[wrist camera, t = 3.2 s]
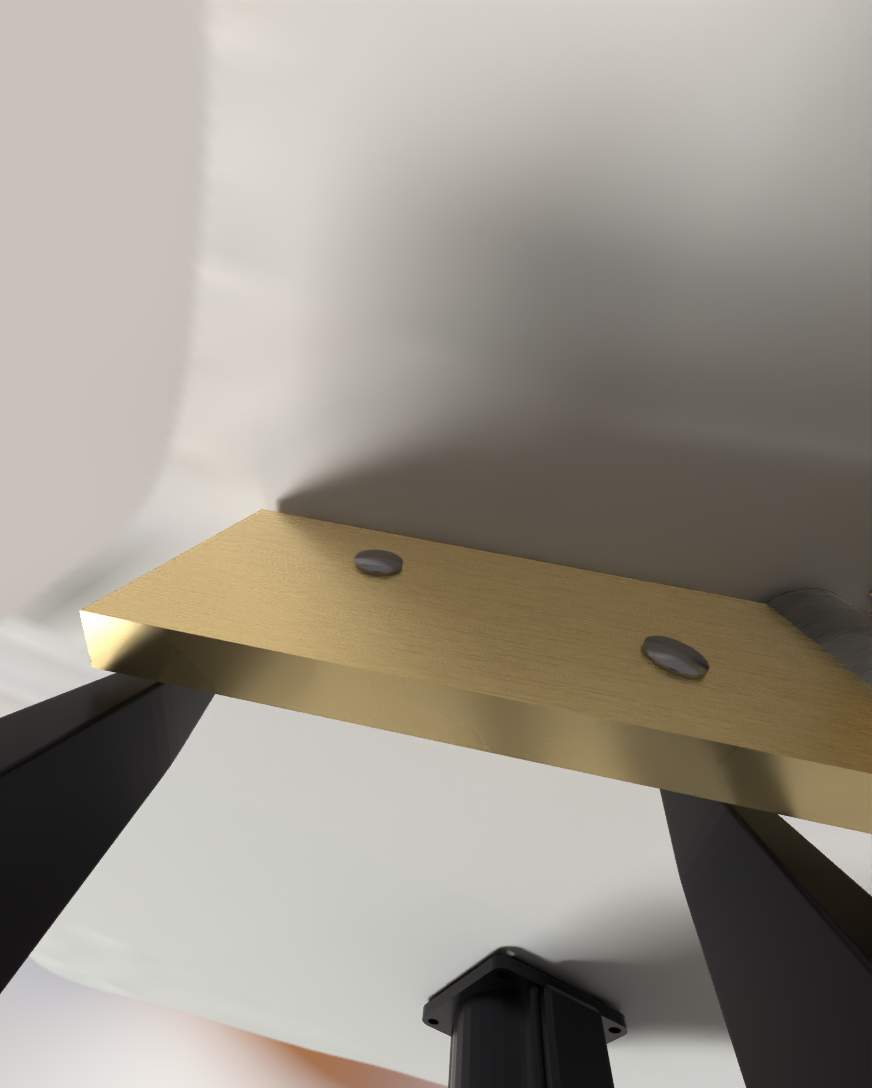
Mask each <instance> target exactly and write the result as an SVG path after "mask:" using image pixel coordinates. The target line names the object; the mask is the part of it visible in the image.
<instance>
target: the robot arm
mask: <svg viewBox="0 0 872 1088" xmlns="http://www.w3.org/2000/svg"><path fill="white" fill-rule="evenodd" d="M214 695H215V694H214V693H209V692H205V691H200V690H195V689H191V688H186V687H181V686H177V685H172V684H167V683H163V682H158V681H153V680H149V679H144V678H139V677H134V676H130V675H125V674H120V673H115V674H112V675H109V676H107V677H104V678H102V679H99V680H96V681H94V682H91V683H89V684H86V685H84V686H81V687H78V688H76V689H73V690H71V691H68V692H66V693H63V694H60V695H58V696H55V697H53V698H50V699H47V700H45V701H42V702H40V703H37V704H35V705H32V706H29V707H27V708H24V709H22V710H19V711H16V712H14V713H11V714H9V715H6V716H4V717H1V718H0V994H1V992H2V991H3V990H4V988H5V987H6V985H7V984H8V983H9V981H10V980H11V979H12V978H13V976H14V975H15V974H16V972H17V971H18V969H19V968H20V967H21V966H22V964H23V963H24V962H25V960H26V959H27V958H28V956H29V955H30V954H31V952H32V951H33V949H34V948H35V947H36V945H37V944H38V943H39V941H40V940H41V939H42V937H43V936H44V935H45V933H46V932H47V931H48V929H49V928H50V927H51V925H52V924H53V923H54V921H55V920H56V919H57V917H58V916H59V915H60V913H61V912H62V911H63V909H64V908H65V907H66V905H67V904H68V903H69V901H70V900H71V899H72V897H73V896H74V895H75V893H76V892H77V891H78V889H79V888H80V887H81V885H82V884H83V883H84V881H85V880H86V879H87V877H88V876H89V875H90V873H91V872H92V871H93V869H94V868H95V867H96V865H97V864H98V863H99V861H100V860H101V859H102V857H103V856H104V855H105V853H106V852H107V851H108V849H109V848H110V847H111V845H112V844H113V843H114V841H115V840H116V839H117V837H118V836H119V835H120V833H121V832H122V831H123V829H124V828H125V826H126V825H127V824H128V822H129V821H130V820H131V818H132V817H133V816H134V814H135V813H136V812H137V810H138V809H139V808H140V806H141V805H142V804H143V802H144V801H145V800H146V798H147V797H148V796H149V794H150V793H151V792H152V790H153V789H154V788H155V786H156V785H157V784H158V782H159V781H160V780H161V778H162V777H163V776H164V774H165V773H166V771H167V770H168V769H169V767H170V766H171V764H172V763H173V761H174V760H175V758H176V757H177V755H178V754H179V752H180V750H181V749H182V747H183V746H184V744H185V742H186V741H187V739H188V737H189V736H190V734H191V733H192V731H193V729H194V728H195V726H196V724H197V723H198V721H199V719H200V718H201V716H202V715H203V713H204V711H205V710H206V708H207V706H208V705H209V703H210V702H211V700H212V698H213V697H214ZM660 792H661V797H662V801H663V806H664V810H665V815H666V819H667V824H668V828H669V833H670V837H671V842H672V846H673V851H674V855H675V860H676V864H677V868H678V872H679V876H680V880H681V883H682V887H683V890H684V893H685V897H686V900H687V903H688V906H689V909H690V913H691V916H692V919H693V922H694V925H695V928H696V931H697V935H698V938H699V941H700V944H701V947H702V950H703V953H704V957H705V960H706V963H707V966H708V969H709V972H710V975H711V978H712V982H713V985H714V988H715V991H716V994H717V997H718V1000H719V1004H720V1007H721V1010H722V1013H723V1016H724V1019H725V1022H726V1026H727V1029H728V1032H729V1035H730V1038H731V1041H732V1044H733V1048H734V1051H735V1054H736V1057H737V1060H738V1063H739V1066H740V1070H741V1073H742V1076H743V1079H744V1082H745V1085H746V1088H872V896H871V895H870V894H868V893H867V892H866V891H865V890H864V889H863V888H862V887H860V886H859V885H858V884H857V883H856V882H855V881H854V880H852V879H851V878H850V877H849V876H848V875H847V874H845V873H844V872H843V871H842V870H841V869H840V868H839V867H837V866H836V865H835V864H834V863H833V862H832V861H831V860H829V859H828V858H827V857H826V856H825V855H824V854H823V853H821V852H820V851H819V850H818V849H817V848H816V847H815V846H813V845H812V844H811V843H810V842H809V841H808V840H807V839H805V838H804V837H803V836H802V835H801V834H800V833H799V832H797V831H796V830H795V829H794V828H793V827H792V826H791V825H789V824H788V823H787V822H786V821H785V820H784V819H783V818H781V817H780V816H779V815H778V814H776V813H771V812H767V811H762V810H757V809H753V808H748V807H743V806H739V805H734V804H729V803H725V802H720V801H715V800H710V799H706V798H701V797H696V796H692V795H687V794H682V793H678V792H673V791H668V790H664V789H660ZM422 1020H423V1022H424V1023H425V1024H426V1025H428V1026H430V1027H432V1028H434V1029H436V1030H438V1031H440V1032H443V1033H445V1034H447V1035H449V1036H451V1047H450V1065H449V1083H448V1088H614V1083H613V1078H612V1072H611V1066H610V1061H609V1055H608V1050H607V1043H609V1042H611V1041H613V1040H615V1039H618V1038H620V1037H622V1036H624V1035H625V1034H627V1026H626V1022H625V1017H624V1015H623V1014H622V1013H620V1012H619V1011H617V1010H615V1009H613V1008H611V1007H609V1006H607V1005H605V1004H603V1003H601V1002H599V1001H597V1000H595V999H593V998H591V997H589V996H587V995H585V994H583V993H581V992H579V991H577V990H575V989H573V988H571V987H569V986H567V985H565V984H563V983H561V982H559V981H557V980H555V979H553V978H551V977H549V976H547V975H545V974H543V973H541V972H539V971H537V970H535V969H533V968H531V967H529V966H527V965H525V964H523V963H521V962H519V961H517V960H515V959H513V958H511V957H509V956H506V955H495V956H493V957H492V958H490V959H489V960H487V961H486V962H484V963H483V964H482V965H480V966H479V967H477V968H476V969H475V970H473V971H472V972H470V973H469V974H468V975H466V976H465V977H463V978H462V979H461V980H459V981H458V982H456V983H455V984H454V985H452V986H451V987H449V988H448V989H446V990H445V991H444V992H442V993H441V994H439V995H438V996H437V997H435V998H434V999H432V1000H431V1001H430V1002H428V1003H427V1004H425V1005H424V1009H423V1018H422Z"/></svg>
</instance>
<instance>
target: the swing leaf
mask: <svg viewBox="0 0 872 1088" xmlns="http://www.w3.org/2000/svg"><path fill="white" fill-rule="evenodd" d="M80 614H81V619H82V624H83V628H84V633H85V638H86V643H87V647H88V652H89V657H90V661H91V666H92V668H97V669H102V670H106V671H111V672H116V673H120V674H125V675H130V676H134V677H139V678H144V679H149V680H153V681H158V682H163V683H167V684H172V685H177V686H181V687H186V688H191V689H195V690H200V691H205V692H209V693H214V694H219V695H223V696H228V697H233V698H237V699H242V700H247V701H252V702H256V703H261V704H266V705H270V706H275V707H280V708H284V709H289V710H294V711H298V712H303V713H308V714H312V715H317V716H322V717H326V718H331V719H336V720H341V721H345V722H350V723H355V724H359V725H364V726H369V727H373V728H378V729H383V730H387V731H392V732H397V733H401V734H406V735H411V736H415V737H420V738H425V739H429V740H434V741H439V742H444V743H448V744H453V745H458V746H462V747H467V748H472V749H476V750H481V751H486V752H490V753H495V754H500V755H504V756H509V757H514V758H518V759H523V760H528V761H533V762H537V763H542V764H547V765H551V766H556V767H561V768H565V769H570V770H575V771H579V772H584V773H589V774H593V775H598V776H603V777H607V778H612V779H617V780H621V781H626V782H631V783H636V784H640V785H645V786H650V787H654V788H659V789H664V790H668V791H673V792H678V793H682V794H687V795H692V796H696V797H701V798H706V799H710V800H715V801H720V802H725V803H729V804H734V805H739V806H743V807H748V808H753V809H757V810H762V811H767V812H771V813H776V814H781V815H785V816H790V817H795V818H799V819H804V820H809V821H813V822H818V823H823V824H828V825H832V826H837V827H842V828H846V829H851V830H856V831H860V832H865V833H870V834H872V616H870V615H869V614H867V613H866V612H864V611H862V610H861V609H859V608H857V607H856V606H854V605H852V604H851V603H849V602H847V601H846V600H844V599H842V598H841V597H839V596H837V595H836V594H834V593H831V592H829V591H825V590H821V589H800V590H795V591H791V592H788V593H785V594H783V595H780V596H778V597H776V598H774V599H773V600H771V601H770V602H768V603H767V604H765V603H760V602H755V601H749V600H744V599H739V598H733V597H728V596H723V595H717V594H712V593H707V592H701V591H696V590H691V589H685V588H680V587H675V586H669V585H664V584H659V583H653V582H648V581H643V580H637V579H632V578H627V577H621V576H616V575H611V574H605V573H600V572H595V571H589V570H584V569H579V568H573V567H568V566H563V565H557V564H552V563H547V562H541V561H536V560H531V559H525V558H520V557H515V556H509V555H504V554H499V553H493V552H488V551H483V550H477V549H472V548H467V547H461V546H456V545H451V544H445V543H440V542H435V541H429V540H424V539H419V538H413V537H408V536H403V535H397V534H392V533H387V532H381V531H376V530H371V529H365V528H360V527H355V526H349V525H344V524H339V523H333V522H328V521H323V520H317V519H312V518H307V517H301V516H296V515H291V514H285V513H280V512H275V511H269V510H264V509H261V510H260V511H258V512H256V513H254V514H252V515H251V516H249V517H247V518H245V519H243V520H242V521H240V522H238V523H236V524H234V525H233V526H231V527H229V528H227V529H225V530H224V531H222V532H220V533H218V534H216V535H215V536H213V537H211V538H209V539H208V540H206V541H204V542H202V543H200V544H199V545H197V546H195V547H193V548H191V549H190V550H188V551H186V552H184V553H182V554H181V555H179V556H177V557H175V558H173V559H172V560H170V561H168V562H166V563H164V564H163V565H161V566H159V567H157V568H155V569H154V570H152V571H150V572H148V573H146V574H145V575H143V576H141V577H139V578H137V579H136V580H134V581H132V582H130V583H129V584H127V585H125V586H123V587H121V588H120V589H118V590H116V591H114V592H112V593H111V594H109V595H107V596H105V597H103V598H102V599H100V600H98V601H96V602H94V603H93V604H91V605H89V606H87V607H85V608H84V609H82V610H80Z"/></svg>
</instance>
